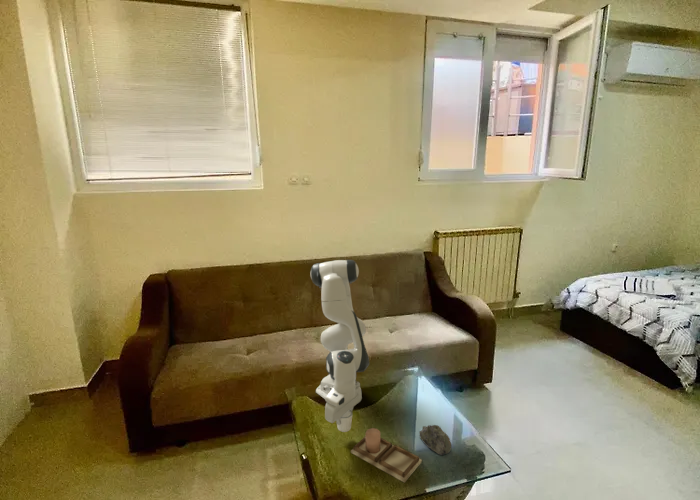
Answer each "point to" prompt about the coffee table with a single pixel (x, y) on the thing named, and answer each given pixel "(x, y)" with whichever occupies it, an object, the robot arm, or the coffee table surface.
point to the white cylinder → (345, 422)
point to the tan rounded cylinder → (373, 440)
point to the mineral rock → (435, 439)
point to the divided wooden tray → (389, 459)
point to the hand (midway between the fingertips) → (344, 419)
